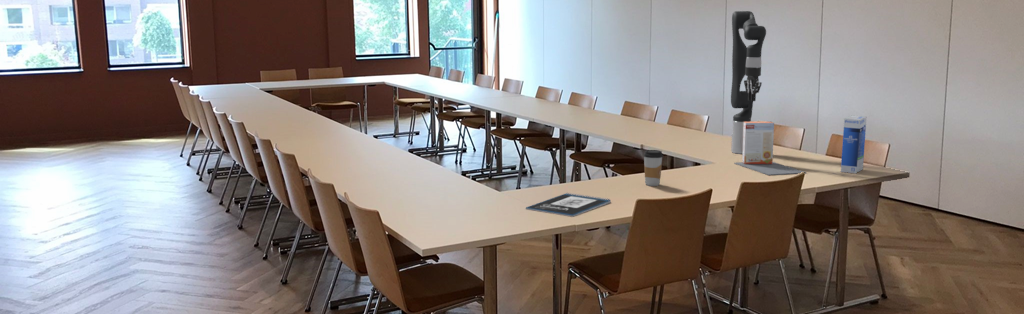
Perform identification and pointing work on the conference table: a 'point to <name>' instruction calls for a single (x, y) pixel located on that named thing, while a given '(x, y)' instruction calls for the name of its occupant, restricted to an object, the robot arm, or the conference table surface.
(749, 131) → the cracker box
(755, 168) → the mat
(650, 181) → the coffee cup
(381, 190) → the conference table surface
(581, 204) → the sketchbook
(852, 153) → the blue cardboard box
